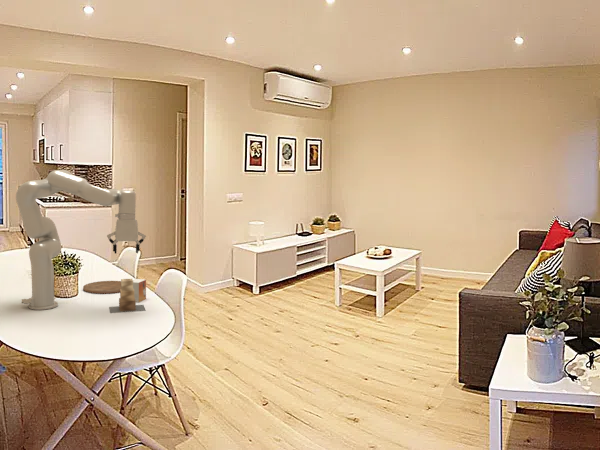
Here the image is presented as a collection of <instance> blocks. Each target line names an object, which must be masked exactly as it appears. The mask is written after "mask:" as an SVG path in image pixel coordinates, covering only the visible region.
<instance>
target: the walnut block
mask: <svg viewBox="0 0 600 450" xmlns="http://www.w3.org/2000/svg"><path fill="white" fill-rule="evenodd" d="M136 305H137V302H136V301H135V298H134V301H122V302H121V299H120V297H119V298H118V306H119V309H120V311H131V310H136Z"/></svg>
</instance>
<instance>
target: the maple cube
mask: <svg viewBox="0 0 600 450" xmlns="http://www.w3.org/2000/svg"><path fill="white" fill-rule="evenodd" d="M133 280H134V279H133V278H122V279H120V281H121V290H122V292H129V291H133Z"/></svg>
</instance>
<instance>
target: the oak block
mask: <svg viewBox="0 0 600 450" xmlns="http://www.w3.org/2000/svg"><path fill="white" fill-rule="evenodd" d="M119 296H120V297H119V298H120V299H121V302H122V301H134V289H133V291H129V292H122V290H121V289H120V293H119Z"/></svg>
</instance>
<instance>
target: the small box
mask: <svg viewBox="0 0 600 450" xmlns="http://www.w3.org/2000/svg"><path fill="white" fill-rule="evenodd" d="M133 289H134V298H135V301H136V303H140V302H143V301H144V300H146V299H147V279H144V278H135V279H133Z"/></svg>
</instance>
